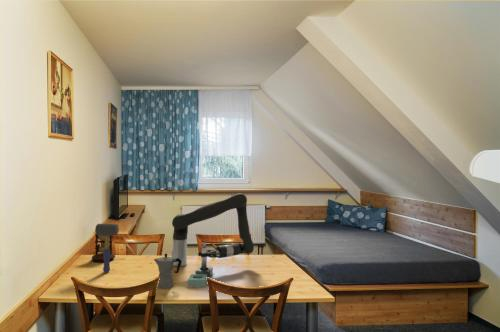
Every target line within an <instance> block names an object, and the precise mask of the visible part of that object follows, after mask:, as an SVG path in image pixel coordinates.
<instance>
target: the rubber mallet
mask: <svg viewBox="0 0 500 332" xmlns="http://www.w3.org/2000/svg"><path fill="white" fill-rule="evenodd" d="M119 229H120V228H119V224H118V223H105V222H104V223H97V224H96V226H95V234H96V235H102V236H105V249H104V252H103V253H104V255H103V257H104V261H103V268H102V272H103V273H109V272H110V271H111V267H110V263H111V262H110V261H111V259H110V249H109V239H110V238H109V236H112V237H113V236H117V235H118V234H119Z"/></svg>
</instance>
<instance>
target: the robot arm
mask: <svg viewBox="0 0 500 332" xmlns="http://www.w3.org/2000/svg"><path fill="white" fill-rule="evenodd" d="M247 203H248V199H247V196H246V195H245V194H244V193H240V192H239V193H236V194H234V195H232V196H230V197H228V198H225V199H223V200H217V201H215V202H211V203H208V204H205V205H202V206H200V207H199V208H197V209H195V210H193V211H191V212H189V213H185V214H183V213H179V214H177V215H176V216H174V217H173V219H172V222H171V224H172V227H173V232H172V233H173V234H172V250H171V257H173V258H179V259H180V260H181V261H182V263H181V266H180V267H183V266H186V265H187V264H188V263H187V259H188V257H187V256H188V255H187V254H188V249H187V248H188V233H189V232H188V231H189V228H188V227H189V226H191V225H192V224H196V223H200V222H202V221H207V220H210V219H212V218H215V217H218V216H219V215H222V214H223V213H226V212H227V211H230V210H233V209H236V213H237V225H238V226H237V227H238V235H239V238H240V239H241V240H242V242H240V243H234V244H222V245H217V246H216V248H207V253H202V251H198V253H197V254H198V255H197V256H199V257H200V258H202V257H207V258H209V259H211V258H212V259H213V258H215V259H217V258H218V259H224V258H230V257H233V256H238V255H240V254H241V255H242V254H252V253H253V252H254V250H255V247H254V241H253V239H252V237H251V232H250V225H249V221H248V215H247V214H248V213H247V207H248V206H247ZM178 263H179V262H174V264H173V267H178Z"/></svg>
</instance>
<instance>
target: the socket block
mask: <svg viewBox="0 0 500 332" xmlns="http://www.w3.org/2000/svg"><path fill="white" fill-rule="evenodd" d="M213 267H214V266H207V270H201V266H200V265H199V266H197V268H196V269H195V272H194V274H204V275H207V277H212V276H213V274H214V273H213V270H214V269H213Z"/></svg>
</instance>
